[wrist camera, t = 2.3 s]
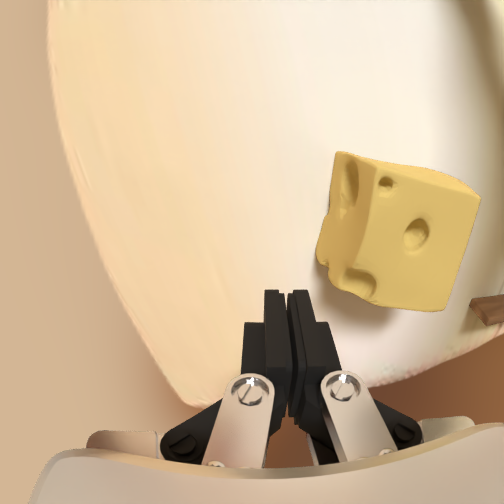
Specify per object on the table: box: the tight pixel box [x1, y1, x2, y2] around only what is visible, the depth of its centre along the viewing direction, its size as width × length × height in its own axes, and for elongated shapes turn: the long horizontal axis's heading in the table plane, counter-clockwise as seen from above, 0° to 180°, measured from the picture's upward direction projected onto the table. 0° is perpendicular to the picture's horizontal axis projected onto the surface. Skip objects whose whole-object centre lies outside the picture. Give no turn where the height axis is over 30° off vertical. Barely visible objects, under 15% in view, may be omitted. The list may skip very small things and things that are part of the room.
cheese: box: [316, 151, 481, 312], centre depth 21 cm, size 10×11×10 cm
